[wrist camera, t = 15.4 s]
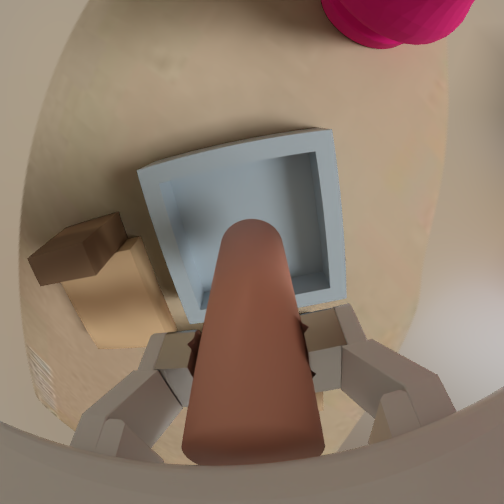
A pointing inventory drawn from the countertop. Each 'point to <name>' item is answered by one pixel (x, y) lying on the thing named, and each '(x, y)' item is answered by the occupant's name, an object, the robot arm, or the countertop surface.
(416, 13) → the pepper mill
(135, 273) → the tan wooden cuboid
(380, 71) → the countertop surface
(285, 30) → the countertop surface
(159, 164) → the tray
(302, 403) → the dowel
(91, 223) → the block
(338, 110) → the countertop surface
